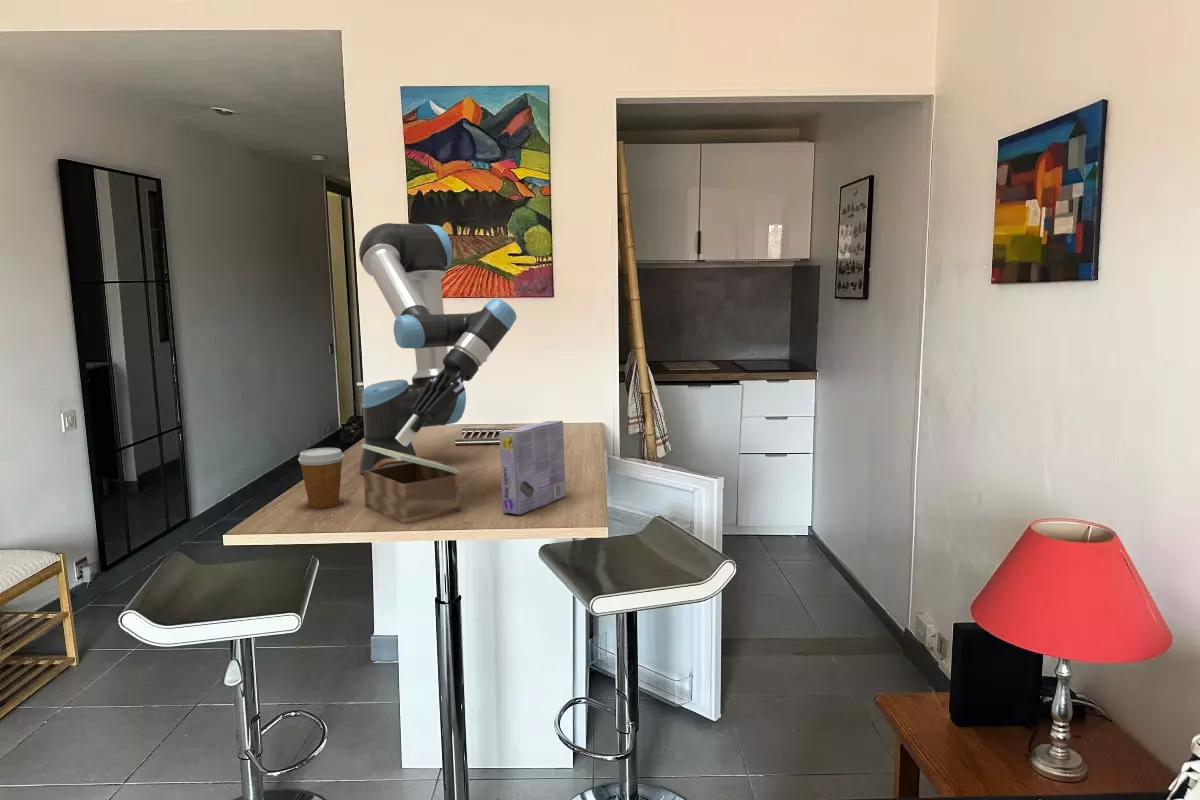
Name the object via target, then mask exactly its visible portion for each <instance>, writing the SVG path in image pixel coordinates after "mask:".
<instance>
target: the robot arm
mask: <svg viewBox="0 0 1200 800" xmlns="http://www.w3.org/2000/svg"><path fill="white" fill-rule="evenodd" d="M359 245H360V246H359V247H358V248H359V249H358V254H359V255H358V257H359V261H360V263H361V266H362V267H363V269H364V271H365V272H366V273H367V274H368V275H370V276H371V277H372V278H373V279H374V281H375V283H376V284H377V287H378V288H379V291H380V292H381V294H382V296H383V297H384V299H385V301H386V303H387V305H388V306H389V308H390V311H391V312H392V314H393V315H394V317H395V319H394V323H393V336H394V339H395V342H396V345H397V346H398V347H399V348H401V349H414V355H415V364H416V372H415V373H414V375H412V377H411V381H412V384H409V382H408V380H406V379H394V380H393V379H391V380H385V381H380V382H376V383H371V384H370V385H368V386H366V387H365V388H364V389H363V391H362V398H361V399H362V401H361V402H362V403H361V408H362V415H363V433H364V444H367V445H371V446H375V447H379V448H383V449H387V450H391V451H396V452H400V453H404V454H408V455H412V456H418V455H417V453H416V451H415V448H414V446H413V443H412V441H413V439H414V438H415V436H417V434H418V433H419V432H420V430H421V429H422V428H427V427H436V426H437V427H438V426H443V427H444V426H446V425H451V424H455V423H458V422H459V421H460V420H461V419H462V417H463V416H464V413H465V409H466V403H467V394H466V393H467V392H466V387H465V386H464V382H470V381H471V380H472V379H473V378H474V376H475V375H476V373H478V372H479V367H482V365H483V364H484V363H485V362H487V361H488V358H489V356H490V355H491V354H492V353H493V352H494V350H495V349H496V347H497V346H498V345H499V343H500V342H502V340H503V338H504V337H505V336H506V335H507V333H508V332H509V331H510V330H511V328H512V327H513V325H514V323H515V322H516V321H517V313H516V312H515V310H514V308H513V307H512V306H511V305H510V304H509V303H507V302H506V301H504V300H503V299H501V298H498V297H494V298H491V299H489V301H488V302H487V303H486V304H484V307H483V308H482V309H481V310H479V311H475V312H468V313H446V314H445V311H444V310H445V309H444V300H443V299H444V298H443V290H442V289H443V288H442V279H443V278H444V277H445V276H446V274H447V273H446V272H447V271H446V270H447V269H448V268H450V266H451V265H452V261H453V259H452V257H453V248H452V247H453V246H452V243H451V239H450V237H449V235H448V233H447V232H446V230H445V229H444V228H443V227H442V226H440V225H435V224H428V223H391V222H388V223H387V222H386V223H382V224H381V223H380V224H378V225H376V226H374V227H372V228H371V229H369V230H368V231H367V232H366V234H365V235H364V236H363V238H362V240H361V242H360V244H359ZM448 347H453V348H451V349H450V350H449V351H448ZM388 458H394V457H391V456H388V455H384V454H381V453H378V452H375V451H372V450H369V449H366V448H363V447H362V453H361V457H360V461H359V464H358V465H359V466H358V467H359V474H360V473H361V474H360V475H362V474H363V471H365V470H371V469H372V468H373V467H374V465H375V464H376V463H378V462H379V461H381V460H383V459H388ZM363 476H364V474H363Z"/></svg>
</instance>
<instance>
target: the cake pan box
mask: <svg viewBox="0 0 1200 800" xmlns="http://www.w3.org/2000/svg"><path fill="white" fill-rule="evenodd" d="M563 421H564V420H546V421H541V422H537V423H533V424H527V425H522V426H519V427H514V428H510V429H505V430H501V431H499V433H498V434H499V435H498V437H499V455H500V456H499V457H500V473H501V474H500V477H501V501H502V512H503V513H506V514H510V515H515V516H522V515H523V514H525V513H528V512H530V511H531V512H532V511H533V510H536V509H540V508H543V507H544V505H545V506H547V505H549V504H551V503H553V502H555V501H558V500H560V499H563V498H562V497H564V496H565V497H566V469H565V444H564V442H565V441H564V422H563ZM565 497H564V498H565ZM557 499H558V500H557ZM552 501H553V502H552ZM550 502H551V503H550ZM539 507H540V508H539Z"/></svg>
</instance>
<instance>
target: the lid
mask: <svg viewBox="0 0 1200 800" xmlns="http://www.w3.org/2000/svg"><path fill="white" fill-rule="evenodd" d="M361 448H362V449H363V448H366V449H369V450H372V451H375V452H378V453H381V454H384V455H388V456H391V457H394V458H397V459H400V460H404V461H408V462H413V463H417V464H421V465H425V466H430V467H434V468H438V469H442V470H445V471H448V472H452V473H455V474H459V471H460V469H458V468H454V467H452V466H450V465H449V466H448V465H446V464H442V462H440V461H436V460H431V459H429V458H428V459H429V460H428V459H424V458H420V457H416V456H412V455H408V454H404V453H400V452H396V451H391V450H387V449H383V448H379V447H375V446H371V445H367V444H365V443H362V445H361Z"/></svg>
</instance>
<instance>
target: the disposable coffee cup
mask: <svg viewBox="0 0 1200 800" xmlns="http://www.w3.org/2000/svg"><path fill="white" fill-rule="evenodd" d="M344 456H345V455H344V454H343V452H342V450H341V449H340V448H337V447H319V448H318V447H317V448H310V449H306V450H303V451H301V452H299V457H298V459H297V461H298V462H299V464H300V468H301V471H302V478H303V482H304V487H305V491H306V493H305V494H306V497H307V498H306V499H307V502H308V507H310V508H311V509H312V508H313V509H327V508H332V507H336V506H338V505H339V504H340V494H341V493H340V491H341V478H342V477H341V476H342V462H343V458H344Z"/></svg>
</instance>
